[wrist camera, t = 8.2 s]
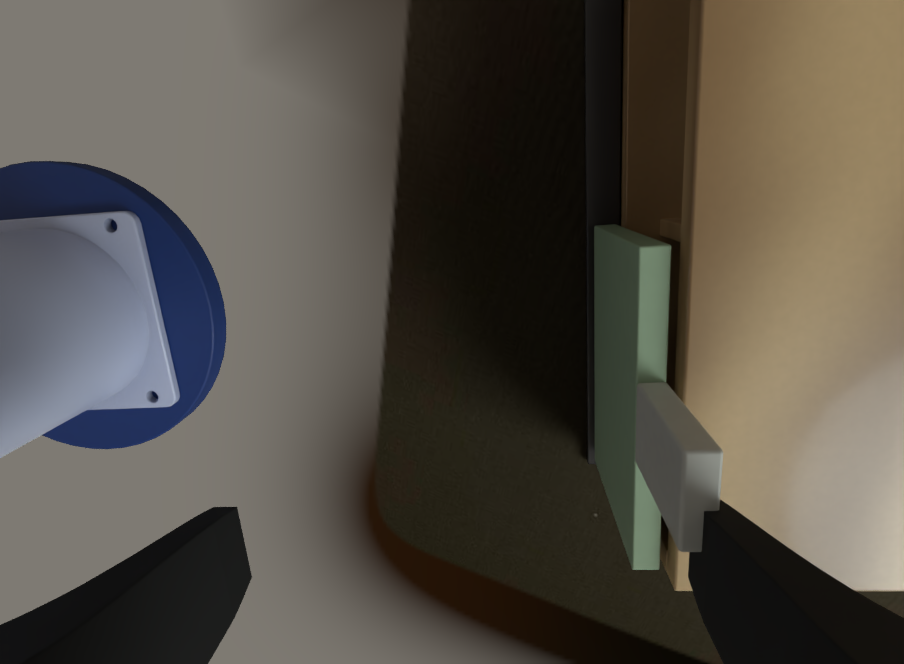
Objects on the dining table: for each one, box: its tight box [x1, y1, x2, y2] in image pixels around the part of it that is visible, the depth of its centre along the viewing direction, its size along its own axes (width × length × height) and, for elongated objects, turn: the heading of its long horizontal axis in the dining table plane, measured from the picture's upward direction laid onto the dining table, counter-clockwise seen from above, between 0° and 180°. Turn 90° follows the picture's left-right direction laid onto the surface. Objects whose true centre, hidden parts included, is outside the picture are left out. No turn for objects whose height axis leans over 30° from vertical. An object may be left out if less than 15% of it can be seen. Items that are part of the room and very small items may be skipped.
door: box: [594, 224, 723, 570], centre depth 16 cm, size 1×10×10 cm, turn 5°
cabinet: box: [584, 0, 904, 591], centre depth 16 cm, size 13×20×8 cm, turn 4°
